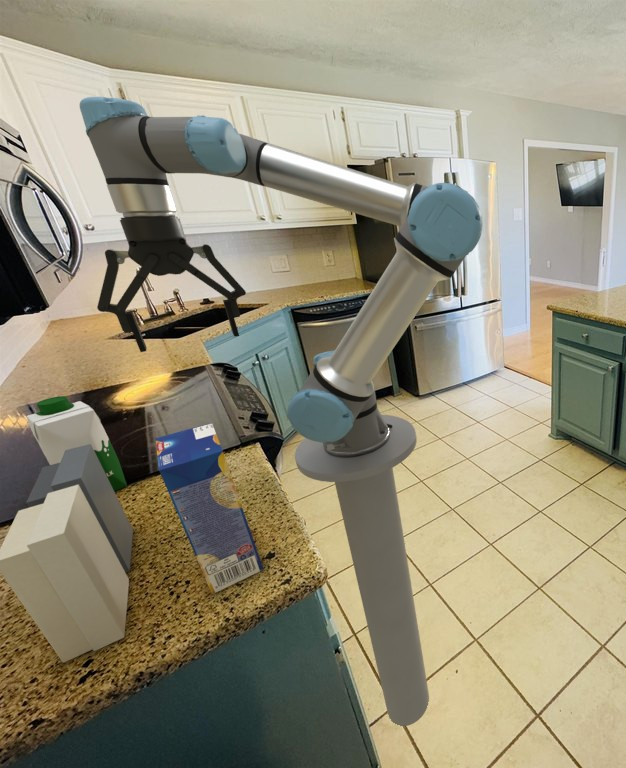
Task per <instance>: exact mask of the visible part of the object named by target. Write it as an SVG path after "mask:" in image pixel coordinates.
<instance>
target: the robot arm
mask: <svg viewBox="0 0 626 768" xmlns="http://www.w3.org/2000/svg"><path fill="white" fill-rule="evenodd" d="M79 110H80V113H81V116H82V120H83V124H84V126H85V133H86V136H87V137H88V139H89V141H90V144H91V146H92V149H93V151H94V153H95V156H96V158H97V160H98V161H97V162H98V163H99V166H100V168H101V171H102V174H103V176H104V179H105V183H106V187H107V190H108V193H109V195H110V198H111V200H112V204H113V206H114V209H115V212H117V213H118V214H122V216H123V217H120V219H119V222H120V225H121V228H122V230H123V233H124V236H125V238H126V240H127V241H126V242H127V245H128V250H121V249H120V250H118V249H117V250H116V249H113V248H108V249H106V250H105V252H104V256H105V260H106V270H105V273H104V278H103V282H102V286H101V290H100V294H99V297H98V298H99V299H98V302H97V305H96V309H97V310H98V311H99V312H101V313H112V314H113V315H115V316H116V318H117V321H118V323H119V325H120V327H121V330H122V332H123V333H124V334H130V333H132V334H133V337H134V339H135V342H136V344H137V347H138V350H139V352H140V353H144V352H147V350H148V349H147V345H146V342H145V340H144V337H143V335H142V331H141V329H140V327H139V324H138V322H137V319H136V316H135V314H134V312H133V311H134V310H128V311H127V309H128V308H129V306H130V304H131V303H132V301H133V299H134V298H135V296H136V295H137V294H138V292H139V290H140V289H141V287H142V286H143V284H144V282H145V280H147V278H148V276H149V275H150V274H151V275H154V276H157V277H161V276H162V277H163V276H166V275H174V276H175V275H181V274H184V273H185V272H188V273H189V274H190V275H192V276H194V277H195V278H197V279H198V280H200V281H201V282H203V283H204V284H206V285H207V286H209V287H210V288H212V289H213V290H214V291H216V292H217V293H219V294H220V295H221V296H223V297H225V298H226V299H222V302H223V305H224V308H225V309H224V310H225V312H226V315H227V319H228V322H229V323H228V324H229V325H230V328H231V333H232V335H233V337H234V338H237V337H240V333H239V330H238V326H237V322H236V318H240V317H241V312H240V309H239V305H238V301H237V300H238V299H240V298H241V297H243V296H246V295H247V291H246V290H245V289H244V288H243V287H242V285H241V284H240V283H239V282H238V280H236V279H235V277H233V275H232V274H231V273H230V272H229V271H228V269H226V268H225V266H224V265H223V264H221V262H220V261H219V260H218V259H217V258H216V256H215V253H214V251H213V249H212V247H211V246H210V245H209V244H207V243H204V244H202V245H199V246H198V245H197V246H190V244H189V243H188V241H187V238H186V235H185V232H184V228H183V225H182V222H181V219H180V218H179V217H178V216H176V215H175V214H174V213H176V212H177V211H178V209H177V206H176V203H175V200H174V197H173V193H172V190H171V186H170V184H169V182H168V178H167V174H168V175H169V174H171V175H172V174H174V175H175V174H201V175H202V174H203V175H210V176H218V177H225V178H232V179H236V180H240V181H244V182H247V183H251V184H254V185H258V186H261V187H266V188H269V189H273V190H276V191H278V192H279V191H280V192H283V193H286V194H290V195H293V196H296V197H300V198H302V199H307V200H310V201H313V202H316V203H320V204H322V205H326V206H329V207H330V206H331V207H333V208H337V209H340V210H344V211H347V212H350V213H354V214H356V215H360V216H364V217H366V218H370V219H374V220H377V221H381V222H385V223H387V224H391V225H393V226H397V227H400V228H399V229H398V232H397V233H396V235H395V236H394V238H393V241H394V246H395V249H396V253H395V254H394V256H393V258H392V259H391V261H390V262H389V264H388V265H387V267H386V269H385V270H384V271H383V273H382V275H381V276H380V277H379V280H378V281H377V283H376V285H375V286H374V288H373V290H372V291H371V292H370V295H368V297H367V299H366V301H365V302H364V303H363V304H362V307H361V308H360V309H359V312H358V313H357V315H356V316H355V318H354V319H353V321H352V323H351V324H350V326H349V327H348V329H347V331H346V332H345V334H344V335H343V337H342V338H341V340H340V341H339V343H338V345H337V347H336V348H335V350H329V351H324V352H321V353H318V354H316V355H314V357H313V360H312V361H313V368H312V371H311V372H310V373H309V375H308V376H307V378H306V380H305V381H304V383H303V384H302V386H301V387H300V389H299V390H298V391H297V392H296V393H295V394H293V395H292V396H291V398H290V401H289V403H288V405H287V409H286V410H287V411H286V412H287V413H286V414H287V419H288V421H289V423H290V424H291V427H292V428H293V430H294V431H295V432H296V433H298V434H299V435H300V436H301V437H303V438H307V439H309V440H312V441H315V442H322V443H323V446H324V450H325V451H326V453H328V454H329V455H331V456H335V457H341V458H349V457H357V456H362V455H365V454H369V453H371V452H374V451H376V450H378V449H379V448H381V447H382V446H384V445H385V444H386V443H387V441H388V440H389V437H390V434H389V428H392V425H390V424H387V423H386V422H385V420H384V419H383V417H382V415H383V414H382V413H381V411H380V410H379V408H378V402H377V395H376V390H375V384H374V378H375V376H376V375H377V374H378V372H379V371H380V369H381V368H382V366H383V365H384V363H385V362H386V360H387V359H388V357H389V356H390V354H391V353H392V351H393V349H394V348H395V346H396V345H397V344H398V342H399V341H400V339H401V338H402V336H403V335H404V334H405V332H406V331H407V328H409V326H410V324H411V322H412V321H413V320H414V318H415V317H416V315H417V314H418V312H419V311H420V309H421V308H422V306H423V305H424V303H425V302H426V301H427V299H428V298H429V296H430V295H431V293H432V292H433V290H434V288H435V287H436V285H437V284H438V282H441V281H447V280H451V279H452V277H453V276H454V274H455V273H456V271H457V270H458V268H459V266H461V264H462V263H463V261H464V259H465V258H466V257H467V256H469V254H470V253H472V251H474V250H475V248H476V247H477V245H478V243H479V241H480V239H481V237H482V233H483V215H482V212H481V209H480V206H479V204H478V202H477V201H476V199H475V198H474V196H472V195H471V194H470V193H469V191H468V190H466V189H464V188H462V187H461V186H460V185H457V184H454V183H451V182H450V183H449V182H438V183H437V182H436V183H434V184H430V185H428V186H426V185H423V184H421V183H416V182H413V183H411V184H410V185H408V186H407V185H404V184H402V183H399V182H395V181H391V180H388V179H385V178H382V177H378V176H375V175H372V174H369V173H365V172H363V171H359V170H356V169H353V168H350V167H347V166H343V165H341V164H337V163H334V162H330V161H327V160H325V159H320V158H317V157H314V156H311V155H308V154H305V153H302V152H298V151H296V150H292V149H290V148H289V149H288V148H285V147H283V146H279V145H277V144H272V143H269V142H266V141H263V140H260V139H257V138H254V137H251V136H248V135H246V134H242V133H239V131H238V130H237V129H236V128H235V127H234V125H233V124H232V123H231V122H230V121H229V120H227V119H225V118H223V117H215V116H206V115H200V114H199V115H196V116H149V115H148V113H147V111H146V109H145V108H144V107H143V106H142V105H141V104H140V103H138V102H136V101H132V100H129V99H124V98H118V97H105V96H87V97H84V98H82V99H81V100H80V101H79ZM194 255H198V256H199V257H200V258H202V259H206V260H207V261H208V262H209V264H210V265H211V266H212V267H213V268H214V269H215V271H217V272H218V274H219V275H221V277H222V278H223V279H224V280H225V281H226V282H227V283H228V284H229V285H230V287H231V288H232V289H233V290H232V291H230V290H229V289H227V288H226V287H225V286H223V285H221V284H220V283H219V282H217V281H216V280H214V279H213V278H212V277H210V276H208V275H207V274H206V273H204V272H203V271H201V270H200V269H199V268H197V266H195V265H193V264H192V263H191V261H192V259H193V257H194ZM127 258H129V259H130V260H132V261H133V262H134V263H136V264H137V265H138V266H140V268H139V270H138V271H137V273H136V274H135V276H134V277H133V279H132V280H131V282H130V284H129V285H128V287H127V288H126V290H125V291H124V293H123V294H122V296H121V297H120V299H119V300H118V302H117V303H111V301H112V297H113V293H114V289H115V286H116V283H117V282H116V281H117V278H118V273H119V270H120V269H119V267H120V265H123V264H125V261H126V259H127ZM388 427H389V428H388Z"/></svg>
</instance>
